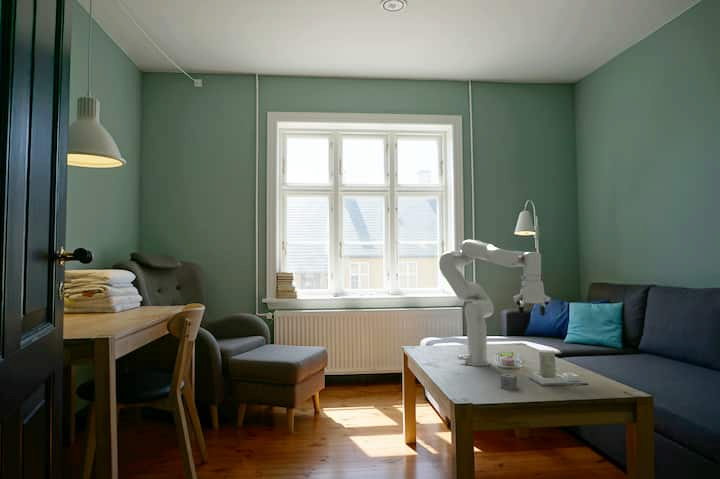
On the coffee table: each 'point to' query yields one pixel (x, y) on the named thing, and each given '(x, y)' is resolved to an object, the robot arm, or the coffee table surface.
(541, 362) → the skincare box
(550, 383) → the socket plate
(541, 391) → the coffee table surface
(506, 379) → the dice cube
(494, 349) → the coffee table surface
